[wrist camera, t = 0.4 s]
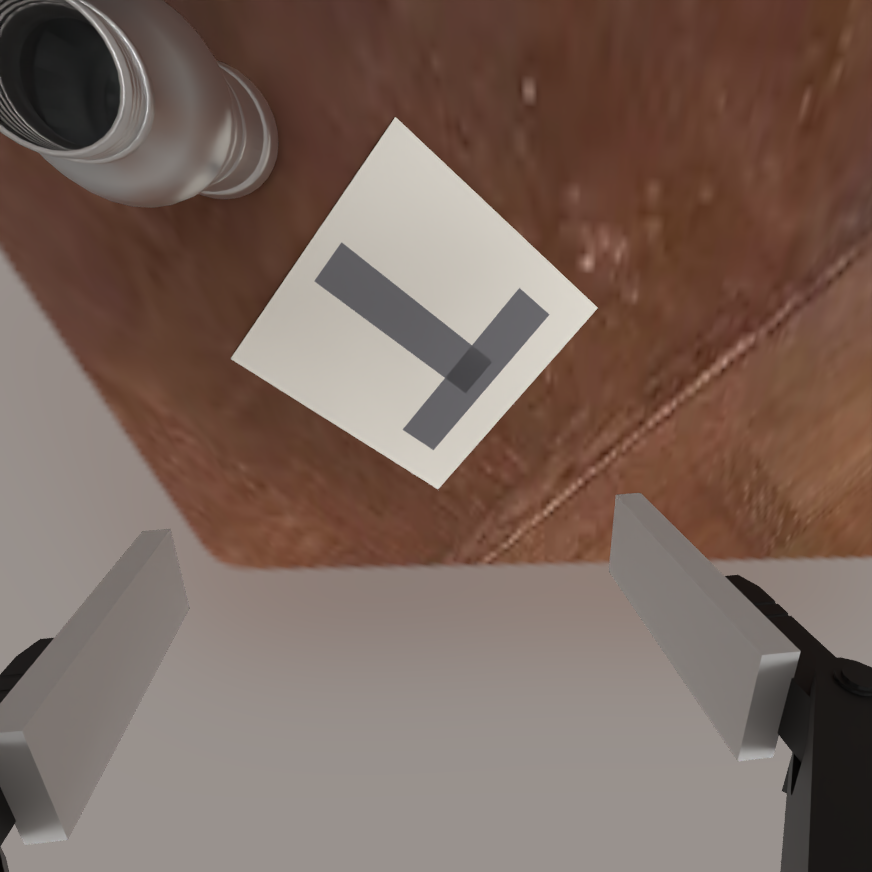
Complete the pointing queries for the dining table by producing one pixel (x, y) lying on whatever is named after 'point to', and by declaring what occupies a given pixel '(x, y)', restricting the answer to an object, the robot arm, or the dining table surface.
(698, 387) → the dining table surface
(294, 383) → the letter board
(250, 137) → the plastic bottle
